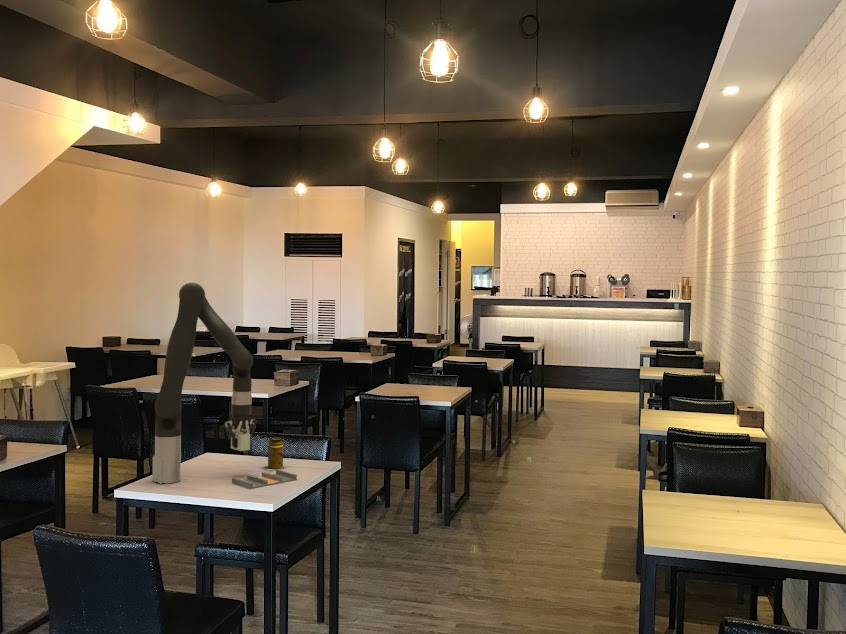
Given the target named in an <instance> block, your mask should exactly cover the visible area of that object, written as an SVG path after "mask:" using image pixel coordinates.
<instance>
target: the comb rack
mask: <svg viewBox="0 0 846 634" xmlns="http://www.w3.org/2000/svg"><path fill="white" fill-rule="evenodd" d="M292 481H297V474H295V473H292V472H288V471H284V470H282V469H277V470H275V473H273V474H272V473H268V472H265V471H262V472H261V476H255V475H251V474H246V479H245V478H244V479H240V478H237V477H231V484H232V485H237V486H239V487H243V488H245V489H249V490H252V489H258V488H262V487H267V486H273V485H278V484H283V483H287V482H288V483H289V482H292Z"/></svg>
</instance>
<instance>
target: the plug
mask: <svg viewBox="0 0 846 634" xmlns="http://www.w3.org/2000/svg"><path fill="white" fill-rule="evenodd" d="M237 438H238V445H237V448H233V446H232V437H230V449H232V450H235V451H240V452H244V451H250V450H251V435H250V434H246V433H243V431H240V432H239V433H238V437H237Z"/></svg>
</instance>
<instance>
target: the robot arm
mask: <svg viewBox="0 0 846 634" xmlns="http://www.w3.org/2000/svg"><path fill="white" fill-rule="evenodd" d="M178 297H179V298H178V299H179V303H178V311H177V317H176V321H175V323H174V326H173V327H172V331H171V333H170V336H169V340H168V344H167V348H166V354H165V358H164V360H165V361H164V369H163V370H164V371H163V379H162V384H161V386H160V389H159V393H158V396H157V397H156V400H155V403H154V409H155V423H154V424H155V425H154V426H155V427H154V455H153V456H152V480H151V481H152V482H153V481H155V482H154V483H156V482H158V483H157V484H159V483H160V484H159V485H161V484H162V483H165V484H174V483H178V482H180V481H181V479H182V478H181V474H182V473H181V472H182V471H181V468H182V467H181V466H182V465H181V464H182V460H181V459H182V449H181V448H182V395H183V394H182V392H183V387H184V383H185V382H184V381H185V379H186V376H187V374H188V372H189V371H188V370H189V368H190V364H191V360H192V358H193V351H194V348H195V344H196V343H195V342H196V335H197V325H198V320H200V321H201V322H202V324H203V325H204V326H205V328H206V329H207V331H208V332H209V333H210V335H211V336H212V338H213V339H214V340H215V341H216V343H217V344H218V346H220V348H221V349H222V350H223V351H224V352H225V353H226V354H227V355H228V357H229V358H230V359H231V360H232V373H233V380H232V393H231V395H232V396H231V412H230V415H231V418H230V420H229V421H224V422H223V423H224V428H225V432H226V435H227V437H230V438H231V437H232V446H233V448H237V445H238V438H237V437H238V433H239V432H243V433H246V434H250V436H253V435H254V433H255V431H256V428H257V424H258V419H252V417H251V415H252V401H253V399H252V398H253V395H252V377H251V368H252V366H253V364H254V358H253V355H252V354H251V353H250V351H249V350H248V349H247V348H246V347H245V346H244V344H242V343H241V341H240V340H239V339H238V338H239V337H237V336H236V334H235V333H234V332H233V330H232V329H231V327H230V326H228V324H227V323H226V322H225V321H224V320H223V319H222V318H221V317H220V315H218V313H217V312H216V311H215V310H214V309H213V307H212V306H211V303H209V301H208V299H207V296H206V292H205V289H204V288H203V286H202V285H200V284H199V283H197V282H188V283H185V284H184V285H182V286H181V287H180V289H179V291H178Z"/></svg>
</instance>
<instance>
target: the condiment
mask: <svg viewBox="0 0 846 634" xmlns="http://www.w3.org/2000/svg"><path fill="white" fill-rule="evenodd" d="M283 467H284V445H283V438H282V437H270V438H269V440H268V445H267V466H260V467H259V468H260V469H263V470H265V471H276V470H281V469H280V468H283Z"/></svg>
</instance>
